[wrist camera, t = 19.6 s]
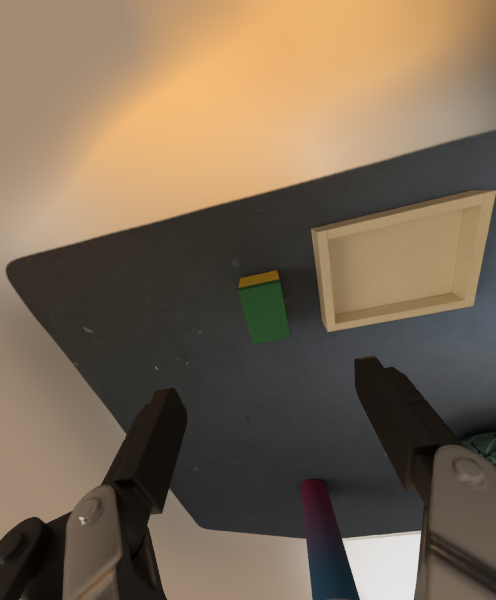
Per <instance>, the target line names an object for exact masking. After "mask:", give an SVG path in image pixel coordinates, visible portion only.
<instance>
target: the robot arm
mask: <svg viewBox="0 0 496 600" xmlns="http://www.w3.org/2000/svg"><path fill="white" fill-rule="evenodd" d="M354 366H355V387H356V392H357V395H358V398H359V400H360V402H361V404H362V406H363V408H364V410H365V412H366V414H367V416H368V418H369V420H370V422H371V424H372V426H373V428H374V430H375V432H376V434H377V436H378V437H379V439H380V441H381V443H382V445H383V447H384V449H385V451H386V453H387V455H388V457H389V459H390V461H391V463H392V465H393V467H394V469H395V471H396V473H397V475H398V477H399V479H400V481H401V483H402V485H403V487H404V489H405V491H416V490H417V491H418V493H419V495H420V497H421V499H422V500H423V502H424V511H423V521H422V531H421V542H420V552H419V562H418V572H417V582H416V589H415V595H414V600H496V464H493V463H491V462H490V461H489V460H487V459H486V458H485V457H483V456H482V455H480V454H479V453H477V452H475V451H473V450H471V449H468V448H466V447H465V446H464V445H463V444H462V443H461V442H460V441H459V440H458V439H457V437H456V436H455V435H454V434H453V432H452V431H451V430H450V429H449V428H448V426H447V425H446V424H445V423H444V421H443V420H442V419H441V418H440V417H439V415H438V414H437V413H436V412H435V411H434V409H433V408H432V407H431V406H430V404H429V403H428V402H427V401H426V400H424V398H423V396H422V395H421V393H420V392H419V391H418V390H416V388H415V386H414V385H413V384H412V383H411V381H410V380H409V379H408V378H407V376H406V375H404V374H403V373H401V372H400V371H398V370H396V369H395V368H393V367H388V368H384V367H383V366H382V364H381V363H380V362H379V360H378V359H377V358H376V357H375V356H371V357H365V358H358V359H355V361H354ZM186 425H187V411H186V409H185V407H184V405H183V403H182V401H181V399H180V397H179V395H178V393H177V391H176V390H175V389H174V388H170V389H164V390H158V391H156V392H155V393H154V395H153V397H152V400H151V402H150V404H147V405H145V406H144V407H143V409H142V410H141V411H140V412H139V413H138V414H137V416H136V418H135V420H134V421H133V423H132V425H131V427H130V428H131V429H130V430H129V431H128V433H127V435H126V437H125V440H124V441H123V443H122V445H121V447H120V449H119V451H118V453H117V455H116V457H115V459H114V461H113V463H112V465H111V467H110V469H109V471H108V473H107V475H106V477H105V478H104V480H103V482H102V484H101V485H100V486H98V487H96V488H94V489H93V490H91V491H90V492H88V493H87V494H86V495H85V496H84V497H83V498H82V499H81V500H80V501H79V503H78V504H77V505H76V506H75V508H74V510H73V511H71V512H69V513H67V514H65V515H63V516H61V517H59V518H57V519H55V520H53V521H51V522H49V523H44V522H43V521H41V520H40V519H39V518H37V517H32V518H28V519H26V520H24V521H22V522H21V523H19V524H18V525H17V526H15V527H14V528H13V529H11V530H10V531H9V532H8V533H7V534H6V535H5V536H4V537H3V538H2V540H0V600H19V599H21V600H167V599H166V597H165V594H164V591H163V588H162V584H161V580H160V575H159V571H158V566H157V562H156V558H155V553H154V549H153V545H152V540H151V536H150V532H149V528H148V526H147V524H148V520H149V517H150V515H151V514H161V513H162V512H163V508H164V504H165V501H166V497H167V493H168V490H169V486H170V483H171V479H172V476H173V472H174V468H175V465H176V461H177V457H178V454H179V450H180V447H181V443H182V439H183V436H184V432H185V429H186Z"/></svg>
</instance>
